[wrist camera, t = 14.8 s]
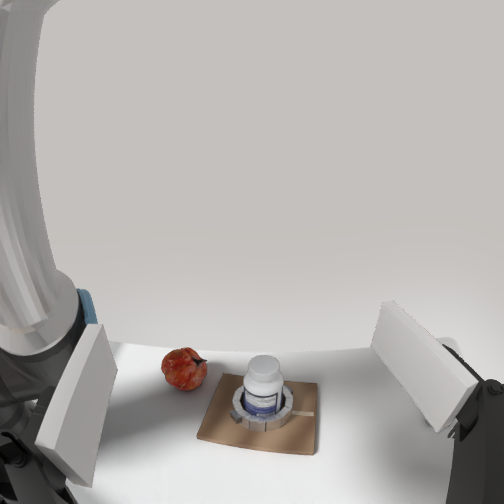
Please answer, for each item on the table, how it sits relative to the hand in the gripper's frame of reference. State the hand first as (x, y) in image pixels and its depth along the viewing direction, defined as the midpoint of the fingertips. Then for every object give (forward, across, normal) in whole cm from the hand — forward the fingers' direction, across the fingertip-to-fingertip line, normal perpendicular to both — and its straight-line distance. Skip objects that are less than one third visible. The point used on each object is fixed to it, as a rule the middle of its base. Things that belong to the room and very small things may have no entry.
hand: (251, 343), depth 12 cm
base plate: (+16, +5, -28) cm, 33 cm away
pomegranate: (+25, -7, -28) cm, 38 cm away
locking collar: (+16, +5, -28) cm, 33 cm away
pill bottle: (+16, +5, -27) cm, 32 cm away
